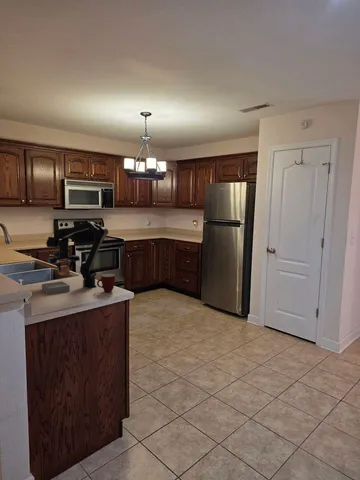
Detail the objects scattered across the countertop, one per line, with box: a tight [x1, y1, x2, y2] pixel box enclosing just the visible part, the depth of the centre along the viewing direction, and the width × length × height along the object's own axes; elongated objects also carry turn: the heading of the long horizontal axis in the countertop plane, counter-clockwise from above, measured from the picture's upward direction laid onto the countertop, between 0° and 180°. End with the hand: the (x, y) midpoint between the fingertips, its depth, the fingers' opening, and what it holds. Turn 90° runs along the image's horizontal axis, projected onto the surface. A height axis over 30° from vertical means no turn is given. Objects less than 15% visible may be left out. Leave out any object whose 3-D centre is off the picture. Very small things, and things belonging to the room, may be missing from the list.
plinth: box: [41, 280, 71, 295], centre depth 186 cm, size 12×12×4 cm
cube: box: [58, 264, 70, 276], centre depth 199 cm, size 5×5×5 cm
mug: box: [96, 273, 116, 293], centre depth 187 cm, size 11×8×10 cm
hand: (63, 272), depth 199 cm, fingers closed on cube, 5 cm apart
